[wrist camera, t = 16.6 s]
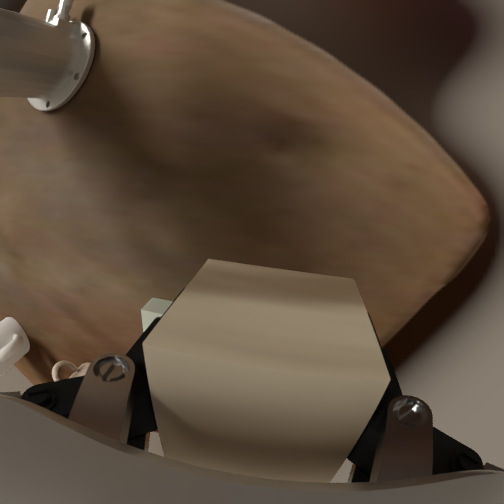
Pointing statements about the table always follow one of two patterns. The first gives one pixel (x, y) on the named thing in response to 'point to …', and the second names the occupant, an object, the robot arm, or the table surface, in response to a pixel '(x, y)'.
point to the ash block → (264, 372)
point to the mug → (11, 343)
